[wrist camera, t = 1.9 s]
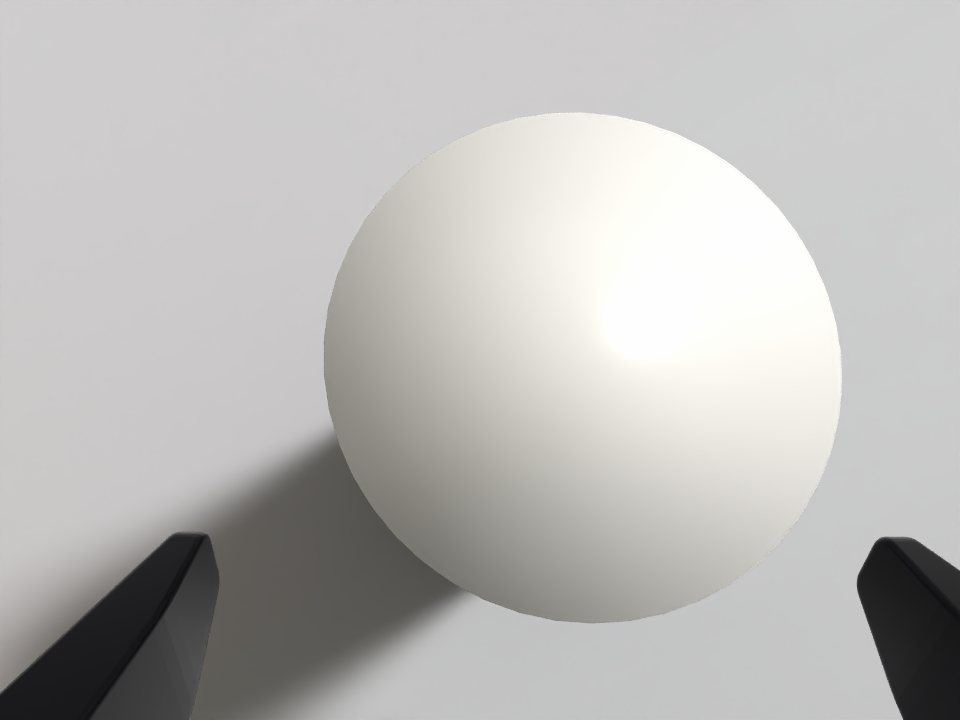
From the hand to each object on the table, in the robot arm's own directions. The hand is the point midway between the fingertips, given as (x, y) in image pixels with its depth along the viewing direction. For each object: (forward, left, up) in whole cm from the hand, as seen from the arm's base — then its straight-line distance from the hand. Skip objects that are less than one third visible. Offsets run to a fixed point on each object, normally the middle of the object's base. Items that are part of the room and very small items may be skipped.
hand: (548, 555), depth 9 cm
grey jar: (+2, 0, -10) cm, 10 cm away
